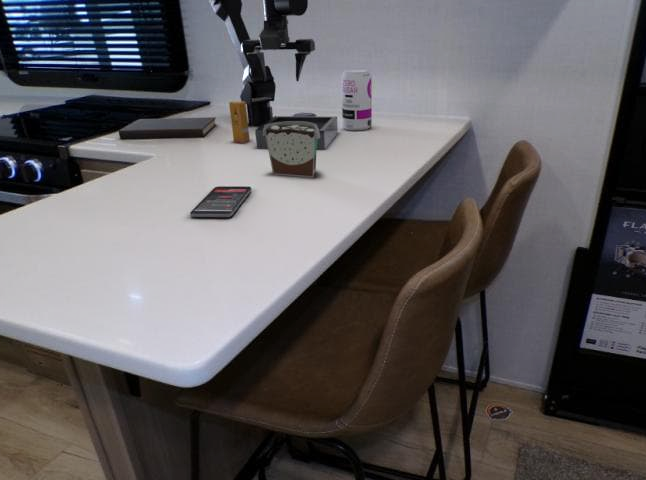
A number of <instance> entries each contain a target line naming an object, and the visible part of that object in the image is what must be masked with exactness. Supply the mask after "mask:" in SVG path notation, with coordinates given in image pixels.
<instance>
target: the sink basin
mask: <svg viewBox="0 0 646 480" xmlns="http://www.w3.org/2000/svg"><path fill="white" fill-rule="evenodd" d="M286 121H303V122H311V123H314V124H316V125H317V128H318V129H319V133H320V138H319V139H317V149H316V150H326V149H327V148H328V146H329V145H330V144H331V143H332V142H333V140H334V139H335V138H336V136H337V135H338V133H339V131H338V130H339V129H338V128H339V127H338V116H329V115H328V116H326V115H325V116H324V115H323V116H321V115H320V116H317V115H316V116H315V115H314V116H313V115H312V116H311V115H310V116H309V115H307V116H306V115H304V116H303V115H301V116H300V115H294V116H293V115H274V116H273V118H272V119H270V120H269V121H267V122H266V123H264V124H263V125H262V126H258V127H257V128H256V129H254V133H255V141H256V149H268V146H267V141H266V135H264V136H263V129H264V125H267V124H271V123H276V122H286Z"/></svg>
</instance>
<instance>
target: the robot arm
mask: <svg viewBox="0 0 646 480" xmlns="http://www.w3.org/2000/svg"><path fill="white" fill-rule="evenodd" d="M208 2H209V4H210V6H211V8H212V9H213V12H214V13H215V15H216V16H217V17H219V18H220V19H221V20H222V21H223V22H224V24H225V26H226V29H227V31H228V33H229V37H230V38H231V41H232V44H233V46H234V48H235V51H236V54H237V57H238V58H239V61H240V63H241V66H242V68H243V76H242V83H243V87H242V90H241V92H240V94H239V98H240V101H245V103H246V112H247V121H248V127H249V126H251V127H253V126H254V127H260V126H262V125H263V124H264V123H266V122H267V121H269V120H270V119H272V118H273V117H274V114H273V106H271V102H275V97H276V89H277V85H276V82H275V78H274V76H273V74H272V71H271V68H270V66H269V65H266V61H265V53H264V51H277V50H278V51H279V50H281V51H283V50H284V51H285V50H296V52H295V53H294V58H295V80H296V81H295V82H299V81H300V77H301V74H302V70H303V67H304V63H305V61H306V59H307V56H309V55H311V52H314V51H316V42H315V40H314V39H313V38H298V39H295V41H290V36H289V27H288V25H289V19H288V17H301V16H303V15H305V13H306V12H307V10H308V6H309V0H262V5H263V15H264V17H263V18H264V20H263V28H262V30H261V32H260V33H259V35H258V37H259V38H258V39H251V38H250V34H249V32H248V30H247V27H246V25H245V22H244V20H243V17H242V14H241V13H242V9H243V1H242V0H208Z"/></svg>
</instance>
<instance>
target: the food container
mask: <svg viewBox="0 0 646 480" xmlns="http://www.w3.org/2000/svg"><path fill="white" fill-rule="evenodd" d="M264 135H266V141H267V146H268V148H267V150H268V155H269V161H270V167H271V172H272V175H277V176H289V177H300V178H310V179H311V178H315V177H316V169H317V150H318V149H317V139H319V138H320V133H319V129H318V128H317V125H316V124H314V123H311V122H303V121H286V122H276V123H271V124H267V125H264V129H263V136H264Z"/></svg>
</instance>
